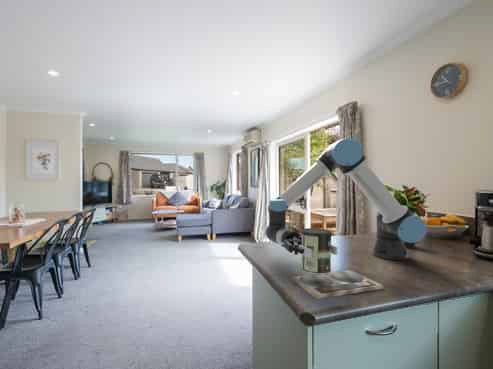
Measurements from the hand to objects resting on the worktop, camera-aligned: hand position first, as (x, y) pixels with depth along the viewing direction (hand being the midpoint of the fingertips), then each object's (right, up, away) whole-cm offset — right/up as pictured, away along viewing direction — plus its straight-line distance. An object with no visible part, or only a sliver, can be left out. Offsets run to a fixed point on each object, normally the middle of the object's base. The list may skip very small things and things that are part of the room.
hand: (324, 252), depth 88 cm
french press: (+65, -13, +60) cm, 89 cm away
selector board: (+5, -12, +4) cm, 14 cm away
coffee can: (-2, -8, +4) cm, 9 cm away
